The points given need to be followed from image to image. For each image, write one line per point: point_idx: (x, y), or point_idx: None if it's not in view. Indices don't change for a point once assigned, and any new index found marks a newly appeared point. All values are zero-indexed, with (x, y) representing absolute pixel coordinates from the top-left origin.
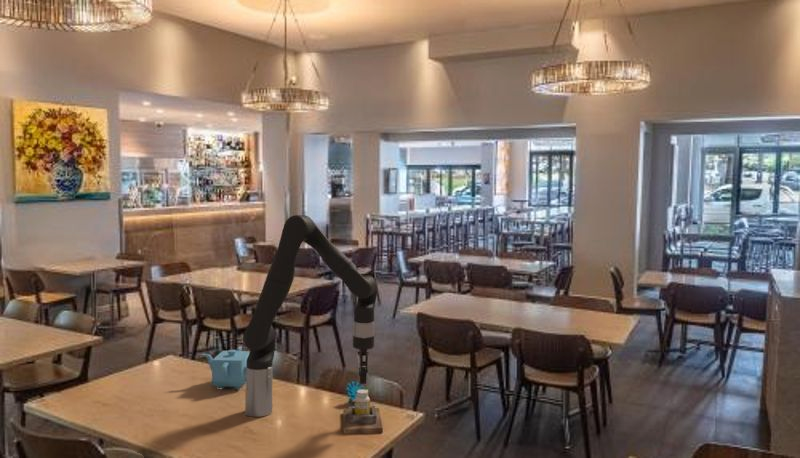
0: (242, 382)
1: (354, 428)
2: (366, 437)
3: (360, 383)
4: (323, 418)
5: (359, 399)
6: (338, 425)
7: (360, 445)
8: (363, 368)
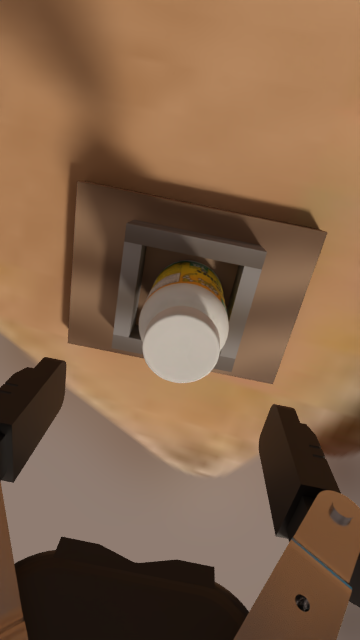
0: None
1: (77, 231)
2: (38, 266)
3: (46, 358)
4: (295, 108)
5: (151, 308)
6: (183, 174)
7: None
8: (276, 490)
